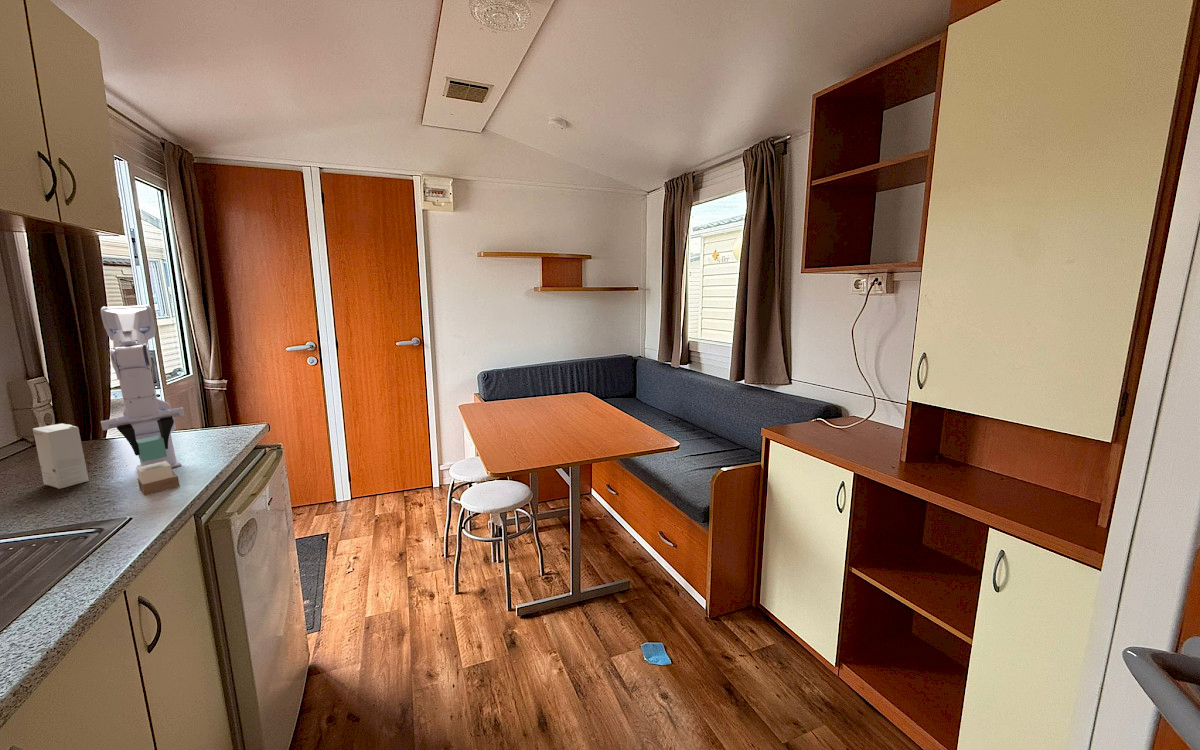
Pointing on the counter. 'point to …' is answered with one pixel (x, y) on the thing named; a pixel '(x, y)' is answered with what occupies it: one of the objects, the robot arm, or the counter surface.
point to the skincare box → (60, 455)
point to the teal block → (151, 448)
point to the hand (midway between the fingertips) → (151, 451)
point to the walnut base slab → (159, 485)
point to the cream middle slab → (154, 472)
